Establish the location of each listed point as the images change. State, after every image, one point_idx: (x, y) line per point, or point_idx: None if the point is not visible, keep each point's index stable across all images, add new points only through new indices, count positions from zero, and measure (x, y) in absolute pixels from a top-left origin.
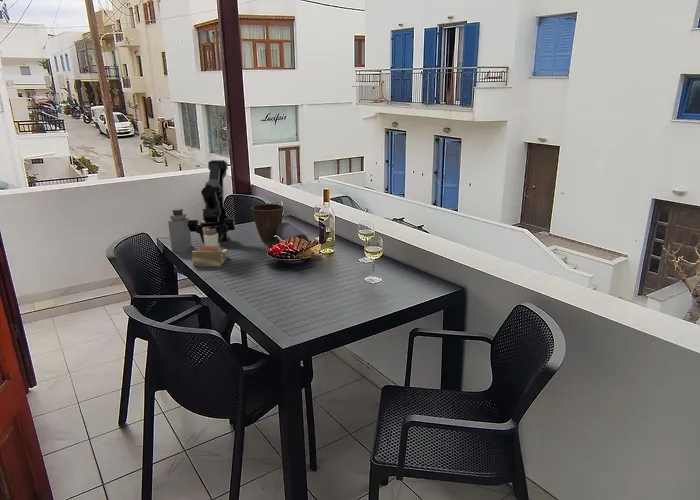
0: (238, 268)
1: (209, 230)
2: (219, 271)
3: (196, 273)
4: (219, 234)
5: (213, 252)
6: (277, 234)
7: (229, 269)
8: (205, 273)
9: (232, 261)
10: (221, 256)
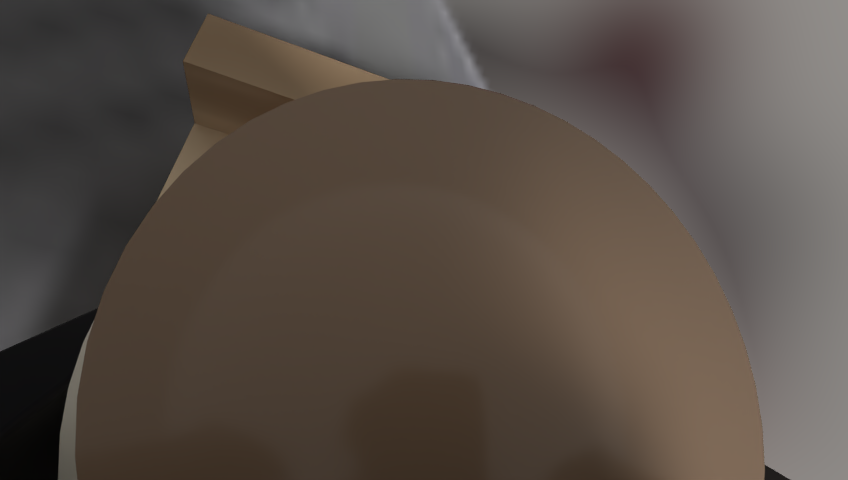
0: (4, 10)
1: (473, 97)
2: (242, 6)
3: (459, 37)
4: (29, 390)
5: (301, 51)
6: None
7: (123, 19)
8: (378, 8)
9: (23, 285)
10: (178, 160)
